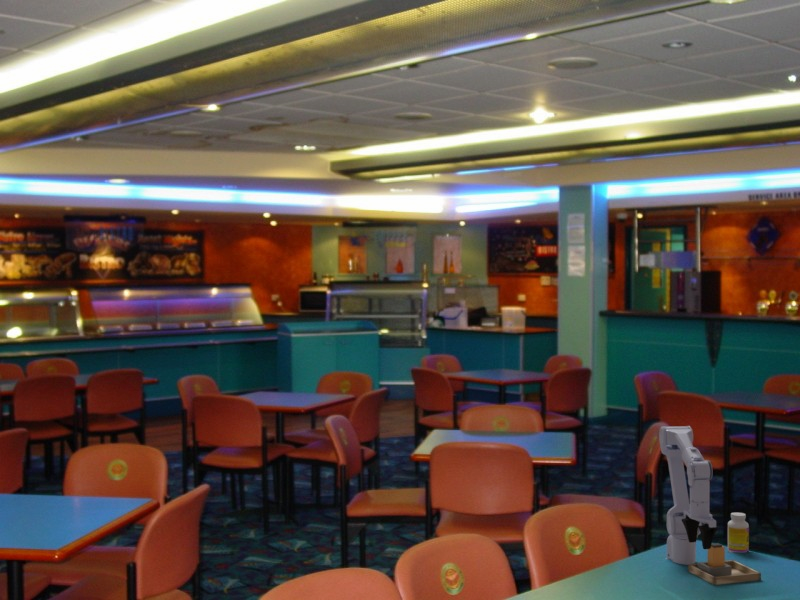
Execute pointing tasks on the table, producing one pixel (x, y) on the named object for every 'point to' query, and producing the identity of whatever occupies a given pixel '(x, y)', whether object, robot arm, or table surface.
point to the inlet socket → (715, 569)
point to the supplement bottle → (738, 533)
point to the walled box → (738, 575)
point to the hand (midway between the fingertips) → (699, 545)
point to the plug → (716, 555)
